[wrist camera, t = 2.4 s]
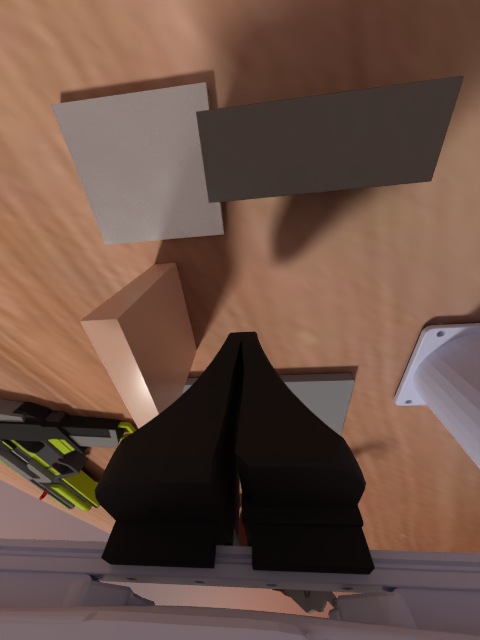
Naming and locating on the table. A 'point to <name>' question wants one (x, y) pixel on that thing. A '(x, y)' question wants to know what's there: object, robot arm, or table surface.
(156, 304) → the block
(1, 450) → the toy gun
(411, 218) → the table surface
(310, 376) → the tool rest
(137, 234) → the turner
